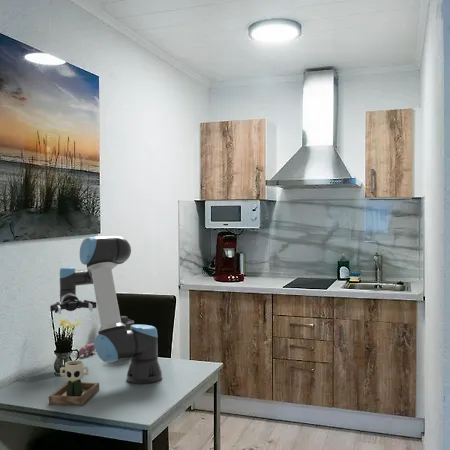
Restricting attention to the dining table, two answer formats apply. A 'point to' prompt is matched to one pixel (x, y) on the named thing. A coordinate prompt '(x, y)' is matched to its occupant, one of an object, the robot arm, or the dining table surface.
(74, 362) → the character mug
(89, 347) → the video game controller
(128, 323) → the canister
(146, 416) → the dining table surface
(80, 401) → the wooden tray
